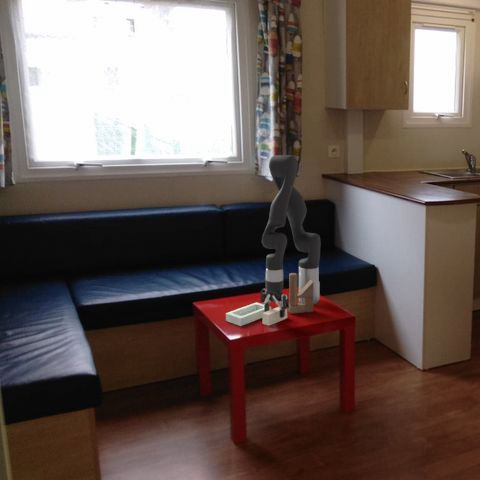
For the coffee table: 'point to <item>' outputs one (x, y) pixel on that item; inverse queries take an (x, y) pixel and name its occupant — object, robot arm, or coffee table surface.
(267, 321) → the cream rectangular block
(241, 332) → the coffee table surface
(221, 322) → the coffee table surface
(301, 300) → the robot arm
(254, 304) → the white rectangular tray
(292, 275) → the wooden bracket
